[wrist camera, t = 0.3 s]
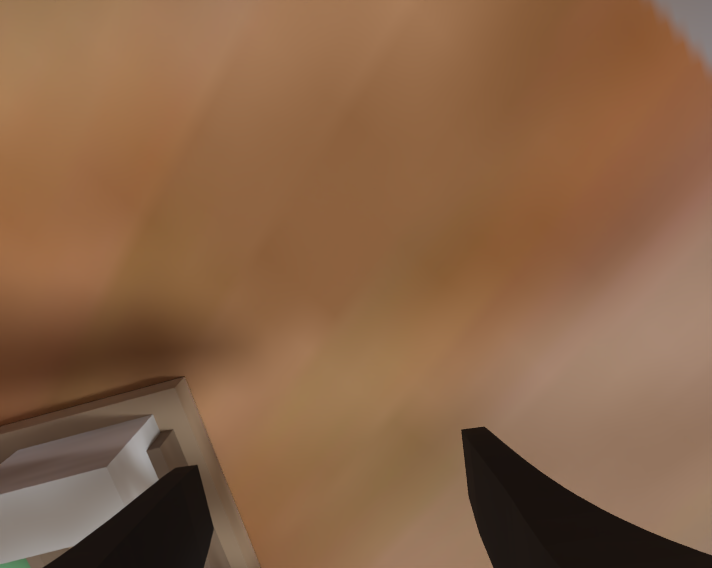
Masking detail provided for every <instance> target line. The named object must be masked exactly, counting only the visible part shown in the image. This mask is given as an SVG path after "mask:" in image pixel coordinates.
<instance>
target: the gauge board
mask: <svg viewBox="0 0 712 568" xmlns="http://www.w3.org/2000/svg"><path fill="white" fill-rule="evenodd" d="M191 465H198V468H199V472H200V476H201V480H202V484H203V488H204V492H205V495H206V499H207V503H208V507H209V511H210V515H211V519H212V523H213V527H214V531H213V535H212V539H211V543H210V547H209V551H208V555H207V558H206V562H205V565H204V568H261V567H260V564H259V562H258V559H257V557H256V554H255V552H254V549H253V547H252V544H251V542H250V539H249V537H248V534H247V532H246V529H245V527H244V524H243V522H242V519H241V517H240V514H239V512H238V509H237V507H236V504H235V502H234V499H233V497H232V494H231V492H230V489H229V487H228V484H227V482H226V479H225V477H224V474H223V472H222V469H221V467H220V464H219V462H218V459H217V457H216V454H215V452H214V449H213V447H212V444H211V442H210V439H209V437H208V434H207V432H206V429H205V427H204V424H203V422H202V419H201V417H200V414H199V412H198V409H197V406H196V404H195V401H194V399H193V396H192V394H191V391H190V389H189V386H188V384H187V381H186V379H185V377H181V378H178V379H174V380H170V381H166V382H163V383H159V384H155V385H152V386H148V387H144V388H141V389H137V390H133V391H130V392H126V393H122V394H118V395H115V396H111V397H107V398H104V399H100V400H96V401H93V402H89V403H85V404H81V405H78V406H74V407H70V408H67V409H63V410H59V411H56V412H52V413H48V414H44V415H41V416H37V417H33V418H30V419H26V420H22V421H19V422H15V423H11V424H7V425H4V426H0V568H43V567H44V566H46V565H47V564H49V563H50V562H52V561H53V560H55V559H56V558H58V557H59V556H61V555H62V554H63V553H65V552H66V551H68V550H69V549H70V548H72V547H73V546H75V545H76V544H77V543H79V542H80V541H81V540H83V539H84V538H85V537H87V536H88V535H89V534H91V533H92V532H93V531H95V530H96V529H97V528H99V527H100V526H101V525H103V524H104V523H105V522H106V521H108V520H109V519H110V518H112V517H113V516H114V515H115V514H117V513H118V512H119V511H120V510H122V509H123V508H124V507H125V506H127V505H128V504H129V503H130V502H132V501H133V500H134V499H135V498H137V497H138V496H139V495H140V494H142V493H143V492H144V491H145V490H147V489H148V488H149V487H150V486H152V485H153V484H154V483H155V482H157V481H158V480H159V479H160V478H162V477H163V476H164V475H166V474H167V473H169V472H170V471H171V470H173V469H174V468H176V467H184V466H191Z"/></svg>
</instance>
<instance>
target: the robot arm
mask: <svg viewBox="0 0 712 568" xmlns="http://www.w3.org/2000/svg"><path fill="white" fill-rule="evenodd" d="M461 431H462V440H463V449H464V458H465V467H466V477H467V486H468V495H469V499H470V503H471V506H472V510H473V513H474V517H475V520H476V524H477V527H478V530H479V534H480V536H481V538H482V541H483V543H484V546H485V548H486V551H487V553H488V556H489V558H490V560H491V563H492V565H493V568H712V555H709V554H706V553H703V552H700V551H698V550H695V549H692V548H690V547H687V546H684V545H682V544H679V543H676V542H674V541H671V540H668V539H666V538H663V537H661V536H659V535H656V534H654V533H651V532H649V531H647V530H644V529H642V528H640V527H638V526H636V525H634V524H631V523H629V522H627V521H625V520H623V519H621V518H618V517H616V516H614V515H612V514H610V513H608V512H606V511H604V510H603V509H601V508H599V507H597V506H595V505H593V504H592V503H590V502H588V501H586V500H584V499H583V498H581V497H579V496H577V495H576V494H574V493H572V492H571V491H569V490H567V489H566V488H564V487H563V486H561V485H560V484H558V483H557V482H555V481H554V480H552V479H551V478H549V477H548V476H546V475H545V474H543V473H542V472H540V471H539V470H538V469H536V468H535V467H534V466H532V465H531V464H530V463H528V462H527V461H526V460H524V459H523V458H522V457H521V456H519V455H518V454H517V453H516V452H514V451H513V450H512V449H511V448H509V447H508V446H507V445H506V444H505V443H503V442H502V441H501V440H500V439H499V438H497V437H496V436H495V435H494V434H493V433H492V432H490V431H489V430H488V429H487V428H485V427H478V428H471V429H463V430H461ZM213 531H214V527H213V523H212V519H211V515H210V511H209V507H208V503H207V499H206V495H205V492H204V488H203V484H202V480H201V476H200V472H199V468H198V465H191V466H184V467H176V468H174V469H173V470H171V471H170V472H169V473H167V474H166V475H164V476H163V477H162V478H160V479H159V480H158V481H157V482H155V483H154V484H153V485H152V486H150V487H149V488H148V489H147V490H145V491H144V492H143V493H142V494H140V495H139V496H138V497H137V498H135V499H134V500H133V501H132V502H130V503H129V504H128V505H127V506H125V507H124V508H123V509H122V510H120V511H119V512H118V513H117V514H115V515H114V516H113V517H112V518H110V519H109V520H108V521H106V522H105V523H104V524H103V525H101V526H100V527H99V528H97V529H96V530H95V531H93V532H92V533H91V534H89V535H88V536H87V537H85V538H84V539H83V540H81V541H80V542H79V543H77V544H76V545H75V546H73V547H72V548H70V549H69V550H68V551H66V552H65V553H63V554H62V555H61V556H59V557H58V558H56V559H55V560H53V561H52V562H50V563H49V564H47V565H46V566H44V567H43V568H204V565H205V562H206V558H207V555H208V551H209V547H210V543H211V539H212V535H213Z"/></svg>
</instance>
